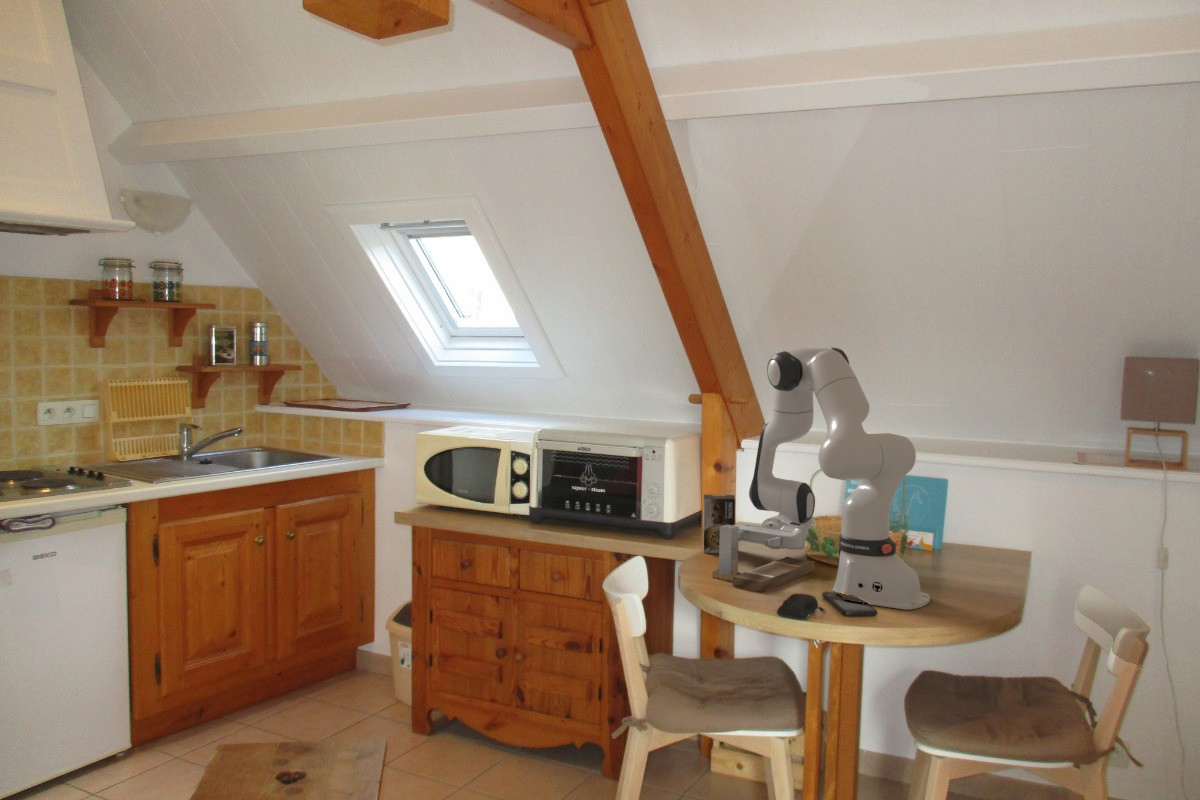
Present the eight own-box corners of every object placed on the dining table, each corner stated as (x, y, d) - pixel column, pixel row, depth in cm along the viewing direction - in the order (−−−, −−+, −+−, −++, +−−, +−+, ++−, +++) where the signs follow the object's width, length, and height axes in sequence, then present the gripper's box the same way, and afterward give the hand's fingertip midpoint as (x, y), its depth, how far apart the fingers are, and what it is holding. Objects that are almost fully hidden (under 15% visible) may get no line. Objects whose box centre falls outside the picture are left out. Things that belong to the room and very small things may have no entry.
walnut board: (813, 570, 248) (813, 561, 248) (761, 592, 226) (761, 581, 226) (786, 565, 253) (786, 556, 253) (732, 586, 232) (732, 575, 231)
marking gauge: (743, 579, 239) (745, 527, 238) (735, 582, 236) (737, 529, 235) (720, 574, 243) (721, 523, 242) (712, 577, 240) (713, 525, 239)
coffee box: (733, 549, 272) (735, 494, 271) (734, 554, 266) (736, 498, 264) (702, 548, 273) (703, 493, 272) (702, 553, 266) (703, 497, 265)
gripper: (744, 516, 264) (717, 523, 254) (810, 526, 251) (785, 534, 241) (743, 538, 265) (717, 546, 254) (809, 549, 252) (784, 558, 241)
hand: (751, 540), depth 247 cm, fingers open, 8 cm apart
